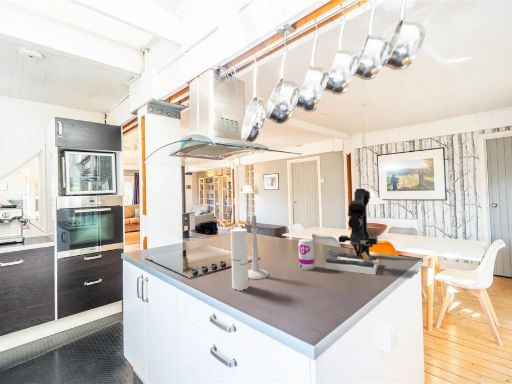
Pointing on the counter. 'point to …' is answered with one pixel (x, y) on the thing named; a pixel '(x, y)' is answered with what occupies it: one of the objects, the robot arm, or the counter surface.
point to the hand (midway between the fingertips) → (358, 256)
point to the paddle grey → (330, 253)
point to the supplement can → (306, 254)
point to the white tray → (352, 267)
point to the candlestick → (255, 256)
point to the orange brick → (365, 256)
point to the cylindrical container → (239, 259)
